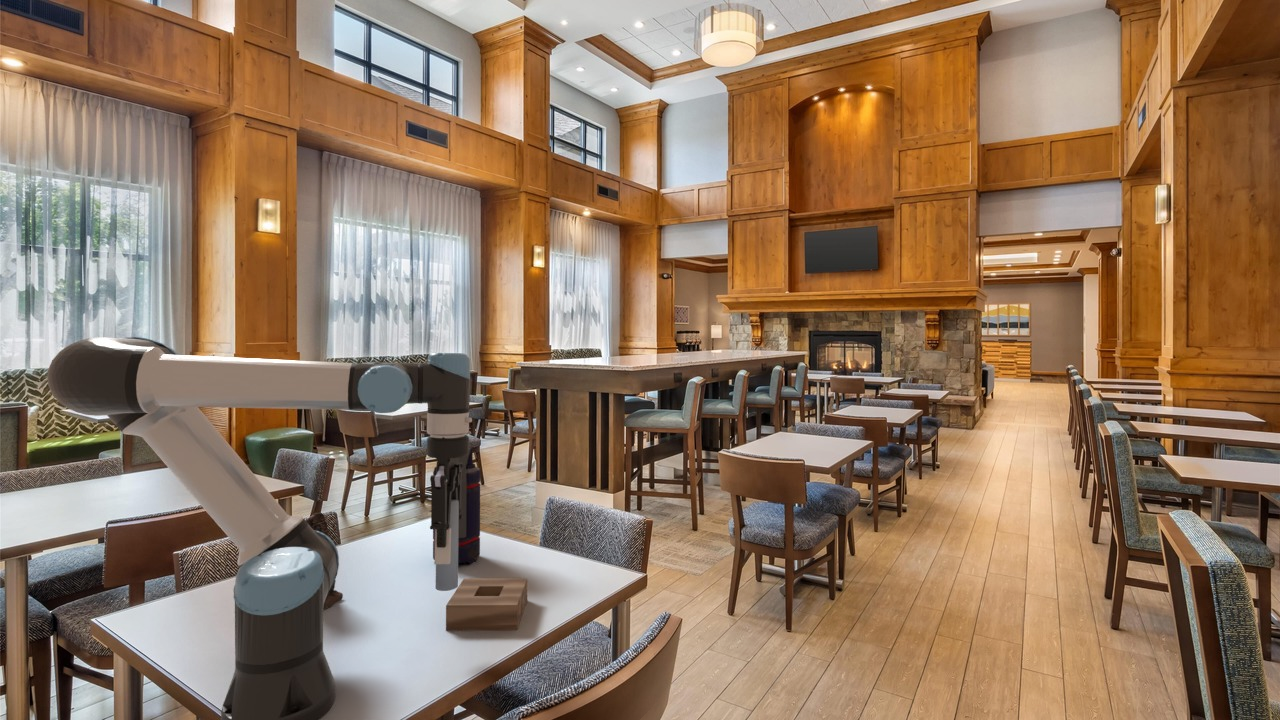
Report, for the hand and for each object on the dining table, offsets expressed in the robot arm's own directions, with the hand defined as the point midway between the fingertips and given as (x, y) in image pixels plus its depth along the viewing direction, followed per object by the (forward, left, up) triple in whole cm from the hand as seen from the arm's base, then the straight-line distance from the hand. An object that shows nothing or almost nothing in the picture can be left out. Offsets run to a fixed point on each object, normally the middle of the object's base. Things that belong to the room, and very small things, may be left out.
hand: (446, 558), depth 114 cm
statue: (+19, +33, -17) cm, 41 cm away
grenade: (+45, +10, -17) cm, 49 cm away
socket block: (+13, -5, -16) cm, 22 cm away
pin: (0, 0, -5) cm, 5 cm away
